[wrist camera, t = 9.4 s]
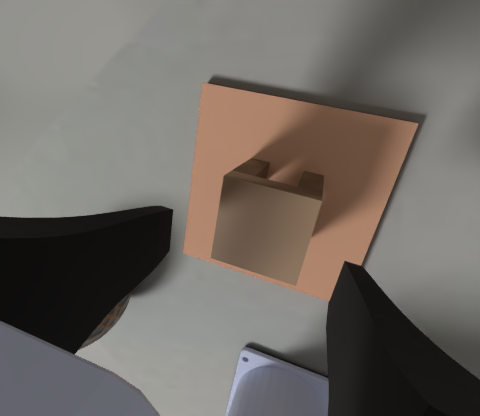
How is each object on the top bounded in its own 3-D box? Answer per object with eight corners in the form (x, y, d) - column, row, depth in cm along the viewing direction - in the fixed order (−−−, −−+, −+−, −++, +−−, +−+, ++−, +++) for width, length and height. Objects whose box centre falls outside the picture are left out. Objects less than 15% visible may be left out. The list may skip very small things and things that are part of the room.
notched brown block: (324, 175, 16) (322, 201, 12) (304, 241, 18) (295, 286, 14) (251, 157, 17) (223, 175, 13) (238, 222, 19) (210, 258, 15)
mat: (344, 301, 19) (344, 306, 19) (186, 249, 22) (183, 253, 21) (415, 123, 15) (418, 123, 14) (206, 83, 17) (202, 82, 17)
